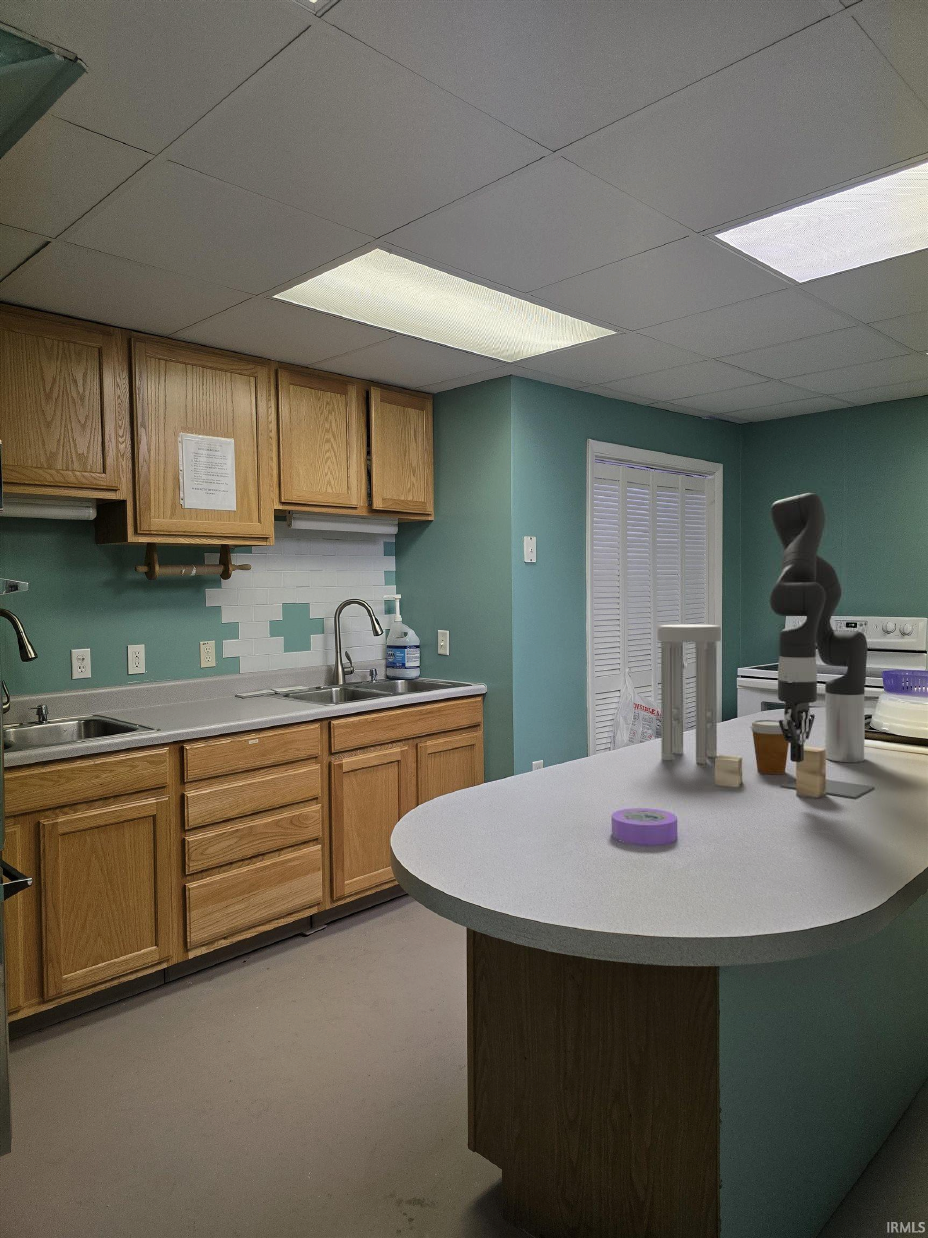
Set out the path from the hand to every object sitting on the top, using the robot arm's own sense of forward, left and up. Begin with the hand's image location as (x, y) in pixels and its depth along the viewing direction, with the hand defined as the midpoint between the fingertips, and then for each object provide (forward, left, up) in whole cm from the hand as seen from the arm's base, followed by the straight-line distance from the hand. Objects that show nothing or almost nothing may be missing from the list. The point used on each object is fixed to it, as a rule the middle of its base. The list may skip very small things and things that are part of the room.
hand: (796, 761), depth 170 cm
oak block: (-7, 0, -9) cm, 11 cm away
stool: (-26, -39, -9) cm, 47 cm away
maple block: (-6, -18, -9) cm, 21 cm away
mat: (-16, 0, -9) cm, 18 cm away
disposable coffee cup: (-24, -16, -9) cm, 30 cm away
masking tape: (+41, -11, -9) cm, 44 cm away
